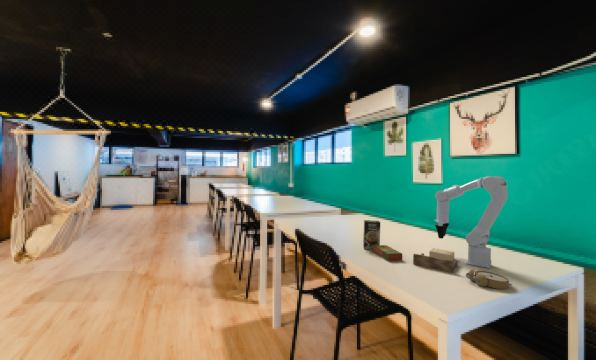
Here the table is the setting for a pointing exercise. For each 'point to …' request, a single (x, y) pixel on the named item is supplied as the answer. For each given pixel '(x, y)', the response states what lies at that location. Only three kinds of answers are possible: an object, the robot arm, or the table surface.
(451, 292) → the table surface
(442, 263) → the frame
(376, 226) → the coffee box
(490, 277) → the alarm clock
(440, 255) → the small carton
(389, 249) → the carton
